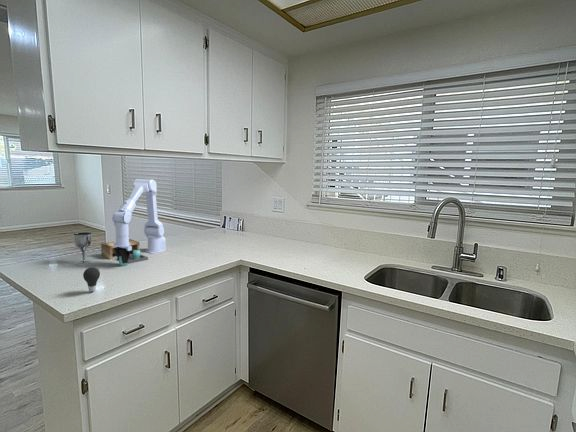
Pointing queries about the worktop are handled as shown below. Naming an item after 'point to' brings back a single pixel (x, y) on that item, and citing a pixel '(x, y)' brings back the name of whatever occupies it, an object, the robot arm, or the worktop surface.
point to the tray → (136, 259)
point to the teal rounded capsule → (121, 262)
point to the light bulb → (91, 277)
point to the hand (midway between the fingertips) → (123, 262)
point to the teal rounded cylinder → (136, 254)
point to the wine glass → (82, 244)
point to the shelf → (108, 247)
